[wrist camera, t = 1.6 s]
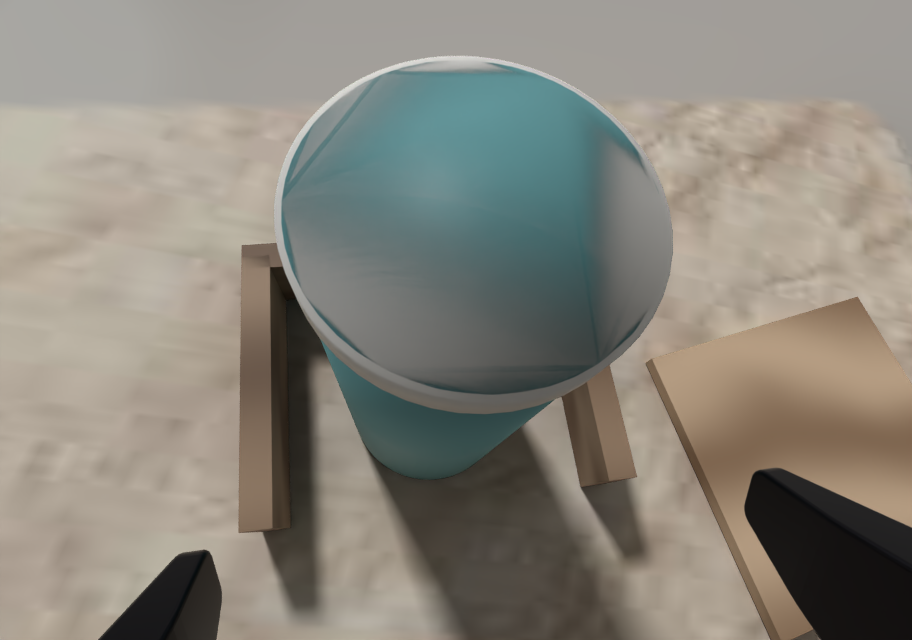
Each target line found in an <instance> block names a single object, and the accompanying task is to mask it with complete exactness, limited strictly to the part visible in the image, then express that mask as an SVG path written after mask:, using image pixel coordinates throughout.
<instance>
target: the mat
mask: <svg viewBox="0 0 912 640" xmlns="http://www.w3.org/2000/svg"><path fill="white" fill-rule="evenodd" d="M646 365H647V367H648V369H649V371H650V374H651V376H652V378H653V380H654V382H655V385H656V387H657V389H658V391H659V393H660V396H661V398H662V400H663V402H664V404H665V407H666V409H667V411H668V413H669V415H670V418H671V420H672V422H673V424H674V427H675V429H676V431H677V433H678V435H679V438H680V440H681V442H682V444H683V446H684V449H685V451H686V453H687V455H688V457H689V460H690V462H691V464H692V466H693V468H694V471H695V473H696V475H697V477H698V479H699V482H700V484H701V486H702V488H703V491H704V493H705V495H706V497H707V499H708V502H709V504H710V506H711V508H712V510H713V513H714V515H715V517H716V519H717V521H718V524H719V526H720V528H721V530H722V532H723V535H724V537H725V539H726V541H727V543H728V546H729V548H730V550H731V552H732V554H733V557H734V559H735V561H736V563H737V566H738V568H739V570H740V572H741V574H742V577H743V579H744V581H745V583H746V585H747V588H748V590H749V592H750V594H751V596H752V599H753V601H754V603H755V605H756V607H757V610H758V612H759V614H760V616H761V618H762V621H763V623H764V625H765V627H766V630H767V632H768V634H769V636H770V638H771V640H791V639H794V638H796V637H798V636H800V635H802V634H805V633H807V632H809V631H811V630H813V628H812V626H811V625H810V624H809V622H808V621H807V619H806V618H805V616H804V615H803V613H802V612H801V610H800V609H799V607H798V606H797V604H796V603H795V601H794V599H793V598H792V596H791V595H790V593H789V591H788V590H787V588H786V586H785V584H784V583H783V581H782V579H781V578H780V576H779V574H778V572H777V571H776V569H775V567H774V566H773V564H772V562H771V560H770V559H769V557H768V555H767V554H766V552H765V550H764V548H763V547H762V545H761V543H760V541H759V540H758V538H757V536H756V535H755V533H754V531H753V529H752V528H751V526H750V524H749V523H748V521H747V518H746V516H745V512H744V504H745V500H746V496H747V492H748V489H749V485H750V481H751V478H752V475H753V474H754V472H755V471H757V470H761V469H768V468H782V469H784V470H787V471H789V472H791V473H793V474H795V475H798V476H800V477H802V478H804V479H806V480H809V481H811V482H813V483H815V484H817V485H820V486H822V487H824V488H826V489H828V490H831V491H833V492H835V493H837V494H839V495H842V496H844V497H846V498H848V499H850V500H852V501H855V502H857V503H859V504H861V505H863V506H866V507H868V508H870V509H872V510H874V511H877V512H879V513H881V514H883V515H885V516H888V517H890V518H892V519H894V520H896V521H899V522H901V523H903V524H905V525H907V526H910V527H912V384H911V382H910V381H909V379H908V377H907V376H906V374H905V373H904V371H903V369H902V368H901V366H900V365H899V363H898V361H897V360H896V358H895V356H894V355H893V353H892V352H891V350H890V348H889V347H888V345H887V344H886V342H885V340H884V339H883V337H882V336H881V334H880V332H879V331H878V329H877V327H876V326H875V324H874V323H873V321H872V319H871V318H870V316H869V315H868V313H867V311H866V310H865V308H864V307H863V305H862V303H861V302H860V300H859V298H858V297H855V298H852V299H849V300H845V301H842V302H839V303H835V304H832V305H829V306H825V307H822V308H819V309H816V310H812V311H809V312H806V313H802V314H799V315H796V316H792V317H789V318H786V319H782V320H779V321H776V322H772V323H769V324H766V325H762V326H759V327H756V328H752V329H749V330H746V331H742V332H739V333H736V334H732V335H729V336H726V337H722V338H719V339H716V340H713V341H709V342H706V343H703V344H699V345H696V346H693V347H689V348H686V349H683V350H679V351H676V352H673V353H669V354H666V355H663V356H659V357H656V358H653V359H651V360H649V361H648V362H646Z"/></svg>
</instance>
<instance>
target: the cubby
mask: <svg viewBox="0 0 912 640" xmlns="http://www.w3.org/2000/svg"><path fill="white" fill-rule="evenodd" d="M291 299H297V298H296V296H295V294H294V292H293V290H292V287H291V285H290V283H289V281H288V278H287V276H286V274H285V271H284V268H283V264H282V261H281V258H280V255H279V251H278V247H277V243H270V244H255V245H242V265H241V354H240V443H239V533H245V532H264V531H271V530H278V529H285V528H291V511H290V464H289V418H288V372H287V326H286V300H291ZM562 400H563V405H564V410H565V414H566V419H567V424H568V429H569V434H570V438H571V443H572V448H573V453H574V457H575V462H576V467H577V472H578V477H579V481H580V486H581V487H584V486H591V485H598V484H605V483H610V482H615V481H620V480H625V479H630V478H635V477H637V475H636V471H635V467H634V463H633V459H632V454H631V450H630V446H629V442H628V438H627V434H626V430H625V426H624V422H623V418H622V414H621V410H620V406H619V402H618V398H617V394H616V390H615V386H614V382H613V378H612V373H611V369H610V365H608V366H607V367H606V368H604V369H603V370H602V371H600V372H599V373H598V374H596V375H595V376H594V377H593V378H591V379H590V380H589V381H587V382H586V383H585V384H583V385H582V386H580V387H578V388H576V389H574V390H573V391H571V392H569V393H567V394H565V395H564V396H562Z"/></svg>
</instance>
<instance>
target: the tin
mask: <svg viewBox="0 0 912 640" xmlns="http://www.w3.org/2000/svg"><path fill="white" fill-rule="evenodd" d="M274 227H275V234H276V241H277V247H278V251H279V255H280V258H281V261H282V264H283V268H284V271H285V274H286V276H287V278H288V281H289V283H290V285H291V287H292V290H293V292H294V294H295V296H296V298H297V300H298V303H299V305H300V307H301V309H302V311H303V313H304V315H305V317H306V319H307V320H308V322H309V323H310V325H311V326H312V328H313V329H314V330H315V332H316V333H317V335H318V336H319V338H320V340H321V342H322V344H323V347H324V349H325V352H326V354H327V357H328V359H329V361H330V364H331V366H332V369H333V371H334V374H335V376H336V378H337V381H338V383H339V386H340V388H341V391H342V393H343V395H344V398H345V400H346V403H347V405H348V408H349V410H350V412H351V415H352V417H353V420H354V422H355V425H356V427H357V429H358V432H359V434H360V436H361V438H362V440H363V442H364V444H365V445H366V447H367V448H368V450H369V451H370V452H371V453H372V455H373V456H374V457H375V458H376V459H377V460H378V461H380V462H381V463H382V464H383V465H385V466H386V467H388V468H389V469H391V470H392V471H395V472H397V473H399V474H401V475H404V476H407V477H410V478H416V479H425V480H433V479H442V478H446V477H450V476H453V475H456V474H458V473H461V472H462V471H464V470H466V469H468V468H469V467H471V466H472V465H473V464H475V463H476V462H477V461H479V460H480V459H481V458H482V457H484V456H485V455H486V454H487V453H489V452H490V451H491V450H492V449H494V448H495V447H496V446H497V445H499V444H500V443H501V442H502V441H504V440H505V439H506V438H507V437H509V436H510V435H511V434H512V433H514V432H515V431H516V430H517V429H519V428H520V427H521V426H522V425H524V424H525V423H526V422H527V421H529V420H530V419H531V418H532V417H534V416H535V415H536V414H537V413H539V412H540V411H541V410H542V409H544V408H545V407H546V406H547V405H549V404H550V403H551V402H552V401H554V400H555V399H557V398H559V397H562V396H564V395H565V394H567V393H569V392H571V391H573V390H574V389H576V388H578V387H580V386H582V385H583V384H585V383H586V382H587V381H589V380H590V379H591V378H593V377H594V376H595V375H596V374H598V373H599V372H600V371H602V370H603V369H604V368H606V367H607V366H608V365H610V364H611V363H612V362H613V361H615V360H616V359H617V358H619V357H620V356H621V355H622V354H623V353H624V352H625V351H626V350H627V349H628V348H629V347H630V346H631V345H632V344H633V343H634V342H635V341H636V340H637V339H638V338H639V337H640V335H641V334H642V332H643V331H644V329H645V328H646V327H647V325H648V324H649V322H650V321H651V319H652V318H653V316H654V314H655V312H656V310H657V308H658V306H659V304H660V302H661V300H662V298H663V295H664V292H665V289H666V285H667V282H668V279H669V275H670V269H671V262H672V255H673V230H672V224H671V217H670V211H669V207H668V203H667V200H666V197H665V193H664V190H663V187H662V185H661V183H660V180H659V178H658V176H657V174H656V171H655V169H654V167H653V166H652V164H651V162H650V161H649V159H648V157H647V156H646V154H645V152H644V151H643V149H642V148H641V146H640V145H639V144H638V143H637V141H636V140H635V139H634V138H633V136H632V135H631V134H630V132H629V131H628V130H627V129H626V128H625V127H624V126H623V125H622V124H621V123H620V122H619V121H618V120H617V119H616V118H615V117H614V116H613V115H612V114H611V113H610V112H608V111H607V110H606V109H605V108H603V107H602V106H601V105H600V104H599V103H597V102H596V101H595V100H593V99H592V98H590V97H589V96H587V95H586V94H584V93H583V92H581V91H580V90H578V89H577V88H575V87H573V86H571V85H569V84H567V83H565V82H564V81H561V80H560V79H558V78H556V77H553V76H551V75H548V74H546V73H544V72H541V71H539V70H536V69H533V68H529V67H526V66H523V65H520V64H516V63H513V62H508V61H503V60H497V59H493V58H483V57H474V56H442V57H431V58H423V59H418V60H413V61H409V62H404V63H400V64H396V65H393V66H390V67H387V68H384V69H381V70H379V71H376V72H374V73H372V74H370V75H368V76H365V77H363V78H361V79H359V80H357V81H356V82H354V83H352V84H351V85H349V86H348V87H346V88H344V89H343V90H341V91H340V92H339V93H337V94H336V95H335V96H333V98H331V99H330V100H328V101H327V102H326V103H325V104H324V105H323V106H322V107H321V108H320V109H319V110H318V111H317V112H316V113H315V114H314V115H313V116H312V117H311V118H310V119H309V120H308V122H307V123H306V124H305V126H304V127H303V129H302V130H301V131H300V133H299V134H298V135H297V137H296V138H295V140H294V142H293V144H292V146H291V148H290V150H289V152H288V154H287V156H286V158H285V161H284V164H283V167H282V170H281V173H280V175H279V178H278V184H277V190H276V196H275V202H274Z"/></svg>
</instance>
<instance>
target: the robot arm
mask: <svg viewBox="0 0 912 640" xmlns="http://www.w3.org/2000/svg"><path fill="white" fill-rule="evenodd" d="M744 512H745V516H746V518H747V521H748V523H749V524H750V526H751V528H752V529H753V531H754V533H755V535H756V536H757V538H758V540H759V541H760V543H761V545H762V547H763V548H764V550H765V552H766V554H767V555H768V557H769V559H770V560H771V562H772V564H773V566H774V567H775V569H776V571H777V572H778V574H779V576H780V578H781V579H782V581H783V583H784V584H785V586H786V588H787V590H788V591H789V593H790V595H791V596H792V598H793V599H794V601H795V603H796V604H797V606H798V607H799V609H800V610H801V612H802V613H803V615H804V616H805V618H806V619H807V621H808V622H809V624H810V625H811V626H812V628H813V629H814V631H815V632H816V634H817V635H818V636H819V638H820V639H821V640H912V527H910V526H907V525H905V524H903V523H901V522H899V521H896V520H894V519H892V518H890V517H888V516H885V515H883V514H881V513H879V512H877V511H874V510H872V509H870V508H868V507H866V506H863V505H861V504H859V503H857V502H855V501H852V500H850V499H848V498H846V497H844V496H842V495H839V494H837V493H835V492H833V491H831V490H828V489H826V488H824V487H822V486H820V485H817V484H815V483H813V482H811V481H809V480H806V479H804V478H802V477H800V476H798V475H795V474H793V473H791V472H789V471H787V470H784V469H782V468H768V469H761V470H757V471H755V472H754V474H753V475H752V478H751V481H750V485H749V489H748V492H747V496H746V500H745V504H744ZM221 603H222V591H221V585H220V582H219V579H218V575H217V572H216V568H215V565H214V562H213V558H212V555H211V554H210V552H209V551H207V550H199V551H192V552H185V553H181V554H179V555H178V556H176V557H175V558H174V559H173V560H172V561H171V562H170V563H169V564H168V565H167V566H166V567H165V569H164V570H163V571H162V572H161V573H160V574H159V575H158V576H157V577H156V578H155V579H154V580H153V581H152V583H151V584H150V585H149V586H148V587H147V588H146V589H145V590H144V591H143V592H142V593H141V594H140V595H139V596H138V598H137V599H136V600H135V601H134V602H133V603H132V604H131V605H130V606H129V607H128V608H127V609H126V610H125V611H124V613H123V614H122V615H121V616H120V617H119V618H118V619H117V620H116V621H115V622H114V623H113V624H112V625H111V626H110V628H109V629H108V630H107V631H106V632H105V633H104V634H103V635H102V636H101V637H100V638H99V639H98V640H216V639H217V632H218V625H219V618H220V611H221Z"/></svg>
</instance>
